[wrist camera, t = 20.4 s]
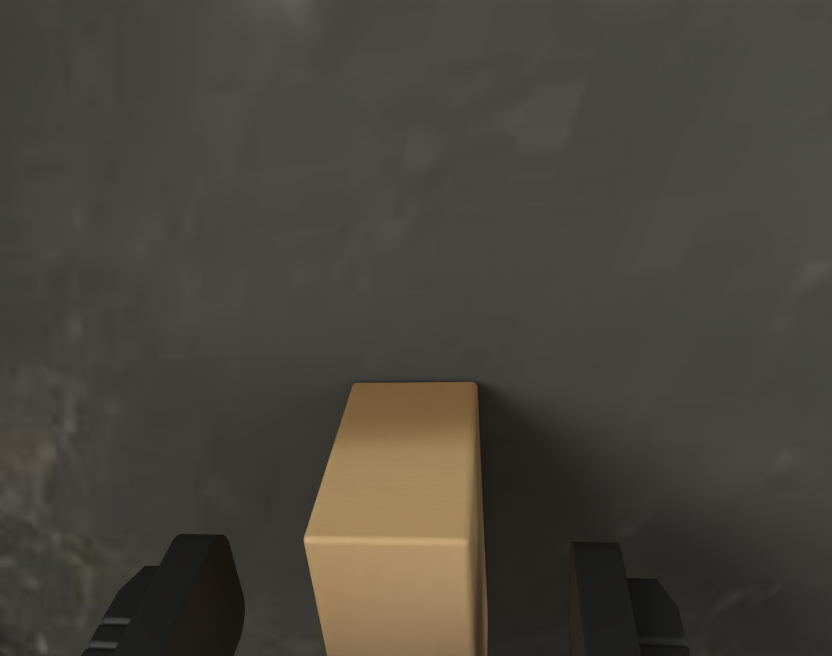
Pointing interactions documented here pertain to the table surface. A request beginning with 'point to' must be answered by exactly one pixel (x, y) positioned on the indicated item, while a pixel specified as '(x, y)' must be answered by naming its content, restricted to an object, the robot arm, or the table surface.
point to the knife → (402, 525)
